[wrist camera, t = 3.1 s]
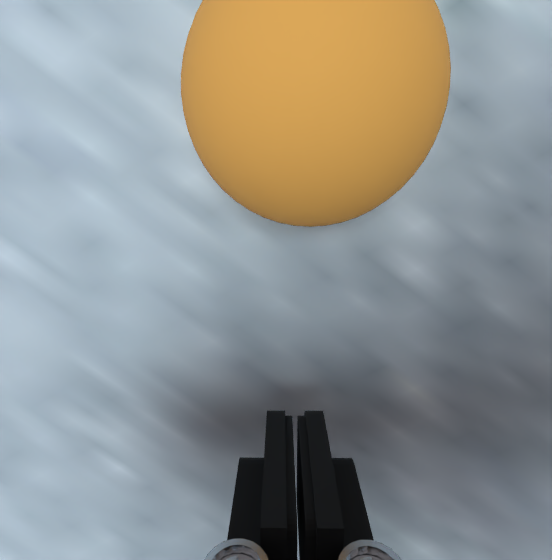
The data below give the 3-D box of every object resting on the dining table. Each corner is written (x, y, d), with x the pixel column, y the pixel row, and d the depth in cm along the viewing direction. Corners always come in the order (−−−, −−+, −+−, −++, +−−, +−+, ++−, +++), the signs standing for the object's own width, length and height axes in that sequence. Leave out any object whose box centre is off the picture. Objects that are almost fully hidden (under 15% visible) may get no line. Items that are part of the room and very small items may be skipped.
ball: (410, 5, 10) (546, -182, 5) (394, 214, 12) (486, 246, 6) (204, 8, 11) (118, -170, 5) (214, 214, 12) (154, 245, 7)
